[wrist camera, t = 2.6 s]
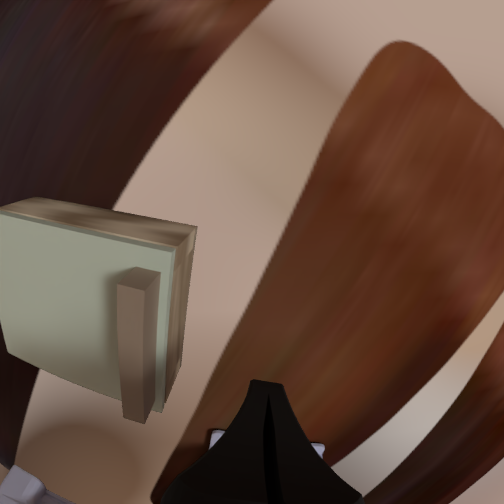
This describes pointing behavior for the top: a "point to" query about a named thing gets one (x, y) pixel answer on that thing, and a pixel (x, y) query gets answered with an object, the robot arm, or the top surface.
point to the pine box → (136, 230)
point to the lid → (88, 308)
